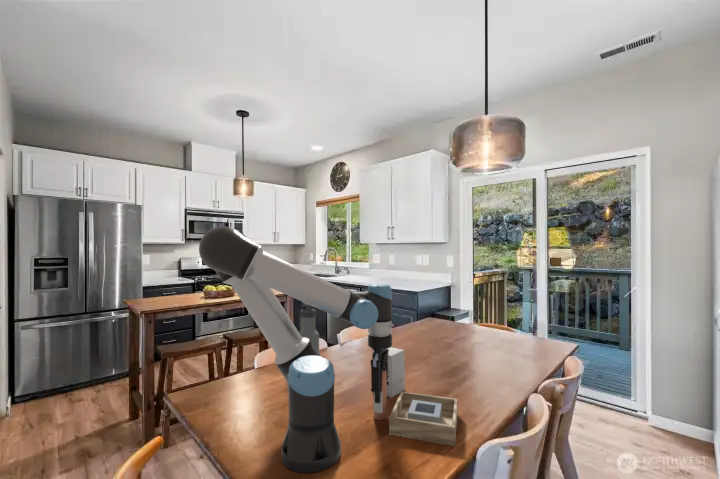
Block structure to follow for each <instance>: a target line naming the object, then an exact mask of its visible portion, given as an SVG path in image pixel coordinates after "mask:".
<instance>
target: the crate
mask: <svg viewBox="0 0 720 479" xmlns="http://www.w3.org/2000/svg"><path fill="white" fill-rule="evenodd" d="M412 400H419V401H426V402H433V403H441V404H442V419H441V424H440V423H434V422H427V421H421V420H414V419H408V411H409V408H410V406H411V403H412ZM391 410H392V411H391V413H390V414H389V419H388V426H389V427H388V428H389V430H388V435H389V436H393V435H397V436H396V437H399V436H402V437H401V438H405V437H407V438H406V439H411V438H412V439H411V440H416V439H417V440H418V441H423V442H428V443H435V444H440V445H445V446H446V445H447V446H452V447H455V446H456V439H457V438H456V437H457V424H458V398H455V397H446V396H438V395H431V394H430V395H429V394H422V393H415V392H407V391H402V392H400V393H399V396H398V398H397V400H396V402H395V404H394V407H393V408H392V409H391Z"/></svg>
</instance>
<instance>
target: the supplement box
mask: <svg viewBox="0 0 720 479" xmlns="http://www.w3.org/2000/svg"><path fill="white" fill-rule="evenodd" d="M388 350H389V352H388V380H387V381H389V384H387V397H389V398H391V399H392V398H394V397H395V396H397V395H400V393H401V392H404V391H405V390H406V388H405V387H406V383H405V382H406V380H405V378H406V377H405V375H406V372H405V371H406V370H405V369H406V368H405V367H406V366H405V350H404V349H402V348H396V347H394V346H393V347H392V346H391V347H390V348H388ZM371 353H372V354H371V356H372V355H373V353H374V350H372V351H371ZM371 360H373V358H372V359H371Z"/></svg>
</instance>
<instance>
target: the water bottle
mask: <svg viewBox="0 0 720 479" xmlns="http://www.w3.org/2000/svg"><path fill="white" fill-rule="evenodd" d="M299 314H300V315H299V319H298V326H299V328H300V330H299V331H298V332H299V334H300V335H301V337H306V338H309V340H310V341H311V343H312V344H313V346H314V348H315V349H316V351H317V352H319V353H320V334H319V332H318V331H317V329H316V317H317V310H316V309H315V308H313V306H311V305H309V304H307V303H304V302H302V305H301V310H300V311H299Z"/></svg>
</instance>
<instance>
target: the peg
mask: <svg viewBox="0 0 720 479" xmlns="http://www.w3.org/2000/svg"><path fill="white" fill-rule="evenodd" d="M382 391H383V413H377V412H374V411H373V418H374V420H376V421H384V420H386V419H387V417H388V416H387V414H388V413H387V411H388V410H387V399H388V398H387V397H388V396H387V372H386V371H384V370H383V373H382Z"/></svg>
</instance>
